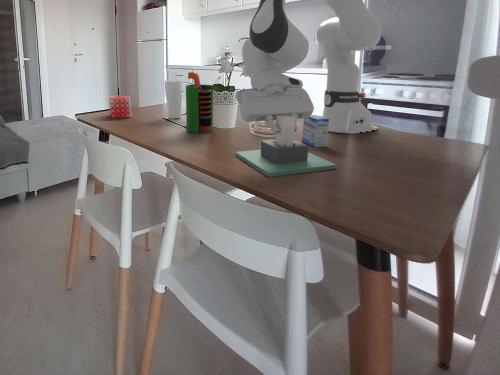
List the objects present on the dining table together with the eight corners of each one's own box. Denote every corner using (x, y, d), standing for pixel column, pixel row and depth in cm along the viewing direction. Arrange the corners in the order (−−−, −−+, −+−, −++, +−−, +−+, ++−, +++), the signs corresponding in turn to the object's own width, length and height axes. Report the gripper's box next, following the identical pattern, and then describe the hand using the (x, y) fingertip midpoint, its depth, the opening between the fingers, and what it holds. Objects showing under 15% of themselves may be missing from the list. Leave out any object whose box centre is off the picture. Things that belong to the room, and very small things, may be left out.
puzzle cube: (131, 117, 156) (129, 98, 153) (111, 117, 153) (109, 98, 151) (131, 114, 163) (129, 95, 160) (112, 114, 161) (110, 96, 158)
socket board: (294, 149, 110) (295, 132, 109) (335, 168, 93) (337, 149, 92) (235, 155, 103) (235, 137, 101) (268, 177, 86) (269, 156, 84)
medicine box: (301, 141, 120) (303, 115, 117) (313, 140, 122) (315, 114, 119) (314, 147, 113) (317, 119, 110) (326, 146, 115) (329, 118, 112)
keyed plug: (286, 149, 99) (288, 115, 96) (294, 153, 95) (297, 118, 92) (274, 150, 98) (276, 115, 95) (283, 154, 94) (284, 118, 91)
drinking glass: (164, 118, 153) (161, 81, 148) (170, 116, 159) (168, 80, 154) (179, 119, 152) (178, 81, 147) (185, 117, 158) (183, 80, 153)
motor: (207, 134, 127) (205, 73, 120) (182, 132, 129) (179, 72, 122) (215, 128, 137) (214, 72, 130) (192, 127, 138) (190, 71, 131)
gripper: (237, 81, 93) (253, 127, 88) (306, 80, 101) (324, 122, 96) (230, 97, 98) (245, 141, 93) (297, 95, 106) (313, 135, 101)
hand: (285, 131), depth 95 cm, fingers closed on keyed plug, 3 cm apart
